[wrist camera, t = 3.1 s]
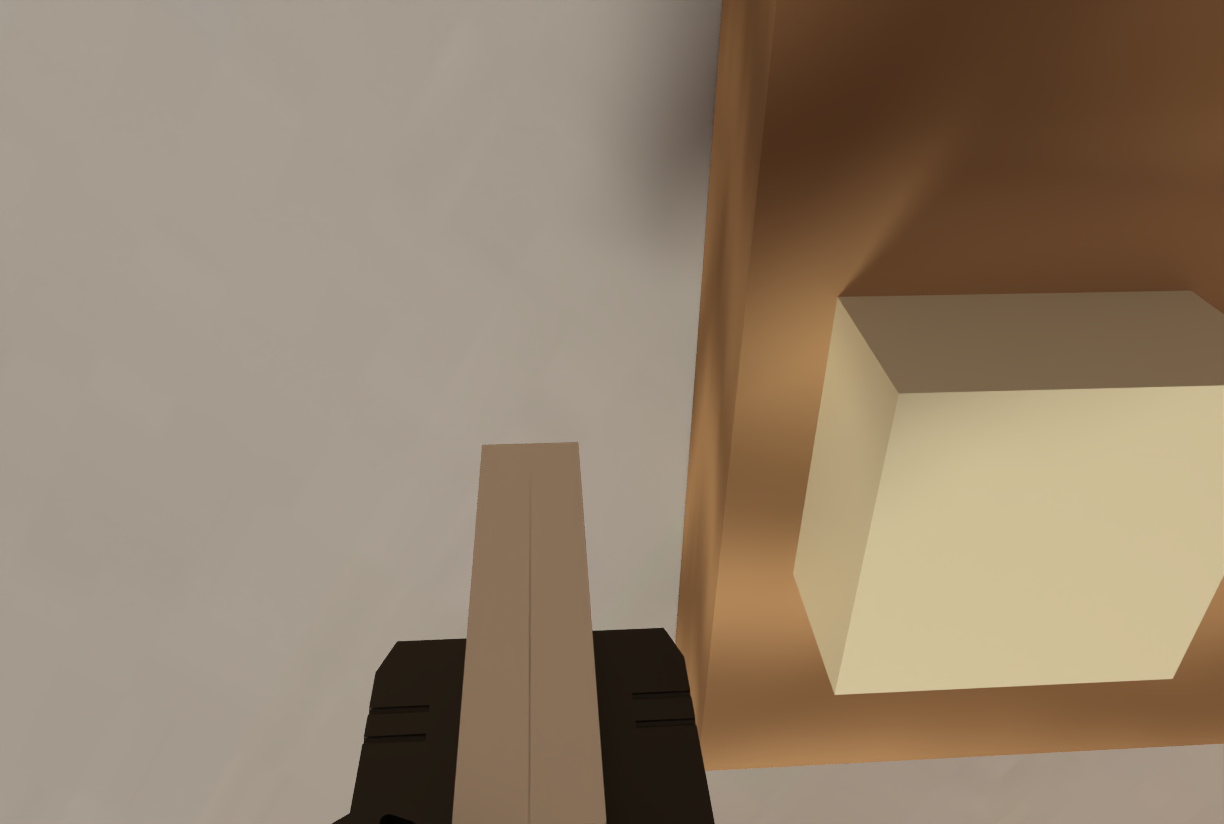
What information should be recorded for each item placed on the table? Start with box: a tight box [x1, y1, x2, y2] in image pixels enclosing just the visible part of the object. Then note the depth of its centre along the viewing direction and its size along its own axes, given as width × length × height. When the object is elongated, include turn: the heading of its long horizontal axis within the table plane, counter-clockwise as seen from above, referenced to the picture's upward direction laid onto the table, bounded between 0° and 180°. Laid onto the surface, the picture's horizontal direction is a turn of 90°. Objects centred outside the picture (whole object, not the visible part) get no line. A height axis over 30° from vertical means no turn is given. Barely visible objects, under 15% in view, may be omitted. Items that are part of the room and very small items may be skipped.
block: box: [793, 291, 1224, 695], centre depth 16 cm, size 6×6×3 cm
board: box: [676, 0, 1224, 771], centre depth 19 cm, size 18×13×4 cm
